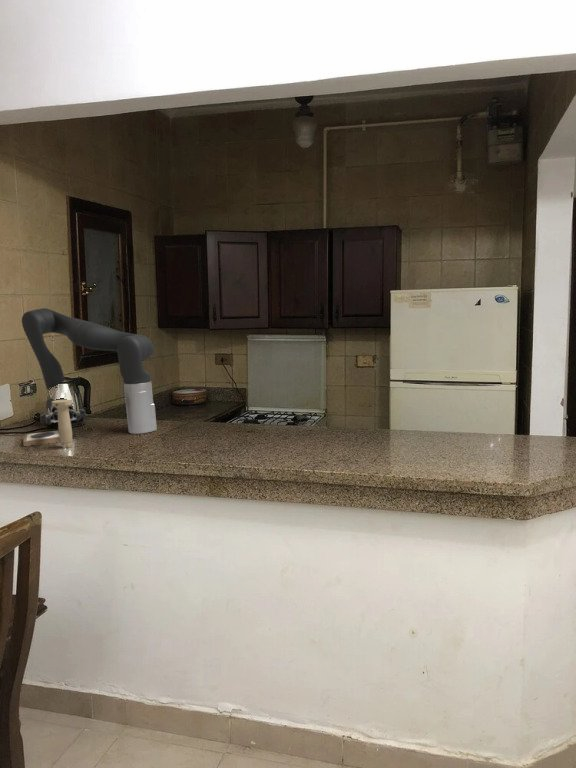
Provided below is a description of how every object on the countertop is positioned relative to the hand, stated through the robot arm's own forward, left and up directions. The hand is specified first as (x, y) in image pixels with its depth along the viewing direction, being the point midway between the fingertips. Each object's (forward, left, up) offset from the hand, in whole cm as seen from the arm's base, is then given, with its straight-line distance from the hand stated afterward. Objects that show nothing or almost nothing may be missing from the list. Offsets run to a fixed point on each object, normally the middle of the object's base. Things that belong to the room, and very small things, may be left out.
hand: (63, 419), depth 193 cm
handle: (0, +5, -8) cm, 10 cm away
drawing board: (+7, -10, -8) cm, 15 cm away
